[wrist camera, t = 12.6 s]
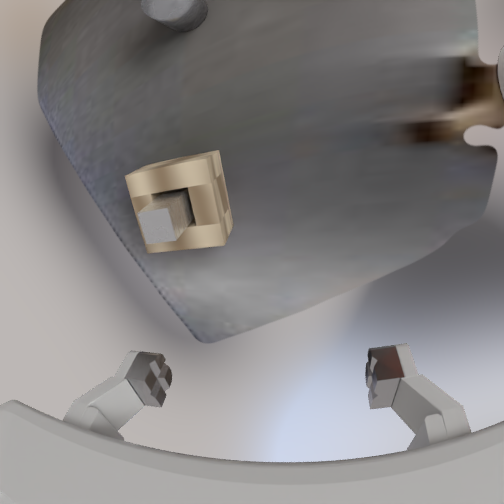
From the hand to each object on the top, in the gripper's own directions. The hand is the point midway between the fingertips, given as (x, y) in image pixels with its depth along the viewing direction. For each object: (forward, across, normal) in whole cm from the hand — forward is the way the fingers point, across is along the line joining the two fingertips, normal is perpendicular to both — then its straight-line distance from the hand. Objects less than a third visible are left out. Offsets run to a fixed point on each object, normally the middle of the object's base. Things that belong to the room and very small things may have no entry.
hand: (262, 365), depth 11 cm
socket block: (+28, +12, 0) cm, 31 cm away
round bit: (+28, +8, -24) cm, 38 cm away
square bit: (+27, +12, 0) cm, 30 cm away
